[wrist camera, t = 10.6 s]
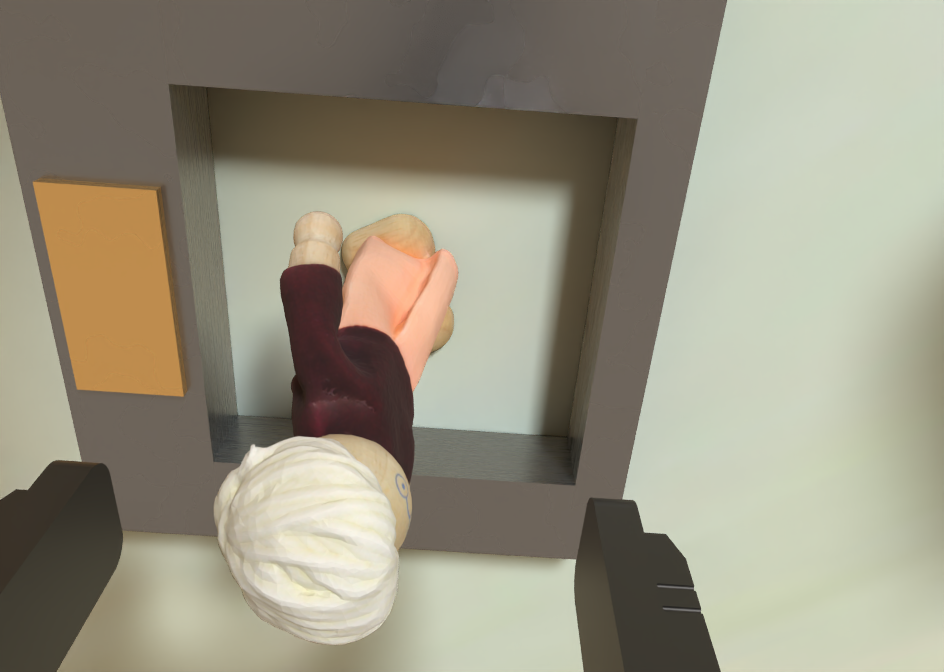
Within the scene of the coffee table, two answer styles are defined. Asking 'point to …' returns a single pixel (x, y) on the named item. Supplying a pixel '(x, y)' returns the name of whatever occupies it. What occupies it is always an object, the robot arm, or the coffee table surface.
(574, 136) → the coffee table surface
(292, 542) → the grandmother figurine
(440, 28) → the holder board
